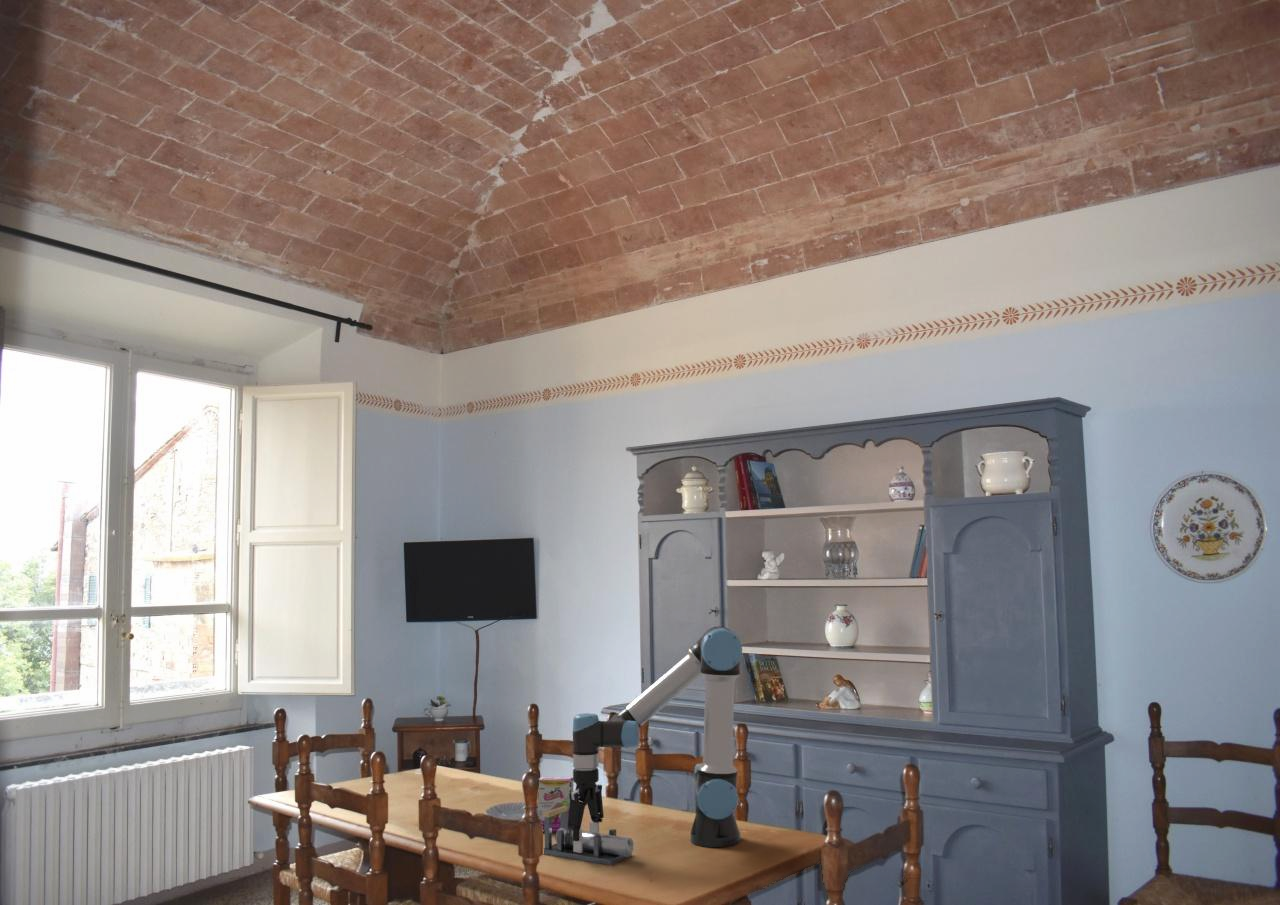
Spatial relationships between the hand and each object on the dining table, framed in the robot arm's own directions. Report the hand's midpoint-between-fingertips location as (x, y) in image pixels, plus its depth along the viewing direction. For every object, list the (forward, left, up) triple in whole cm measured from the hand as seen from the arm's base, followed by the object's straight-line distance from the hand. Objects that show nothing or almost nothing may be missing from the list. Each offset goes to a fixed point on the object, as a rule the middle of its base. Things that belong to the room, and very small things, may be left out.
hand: (586, 848), depth 296 cm
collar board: (0, 0, -2) cm, 2 cm away
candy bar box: (+24, -18, -2) cm, 30 cm away
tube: (-3, +1, 0) cm, 3 cm away
